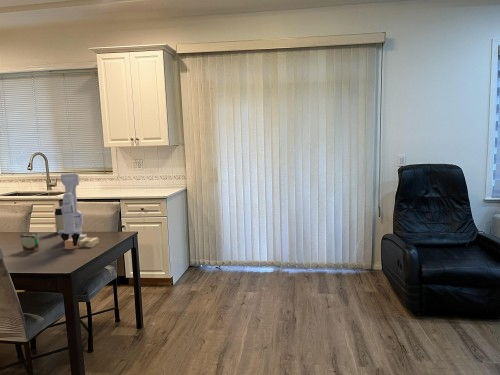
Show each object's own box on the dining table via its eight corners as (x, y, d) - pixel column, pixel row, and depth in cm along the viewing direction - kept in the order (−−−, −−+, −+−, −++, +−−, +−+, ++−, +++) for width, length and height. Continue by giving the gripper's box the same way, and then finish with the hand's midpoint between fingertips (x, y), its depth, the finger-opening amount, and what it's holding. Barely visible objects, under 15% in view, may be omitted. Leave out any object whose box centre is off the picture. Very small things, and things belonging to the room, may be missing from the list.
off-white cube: (76, 244, 229) (75, 236, 228) (79, 242, 234) (78, 234, 233) (84, 244, 229) (83, 236, 229) (87, 241, 234) (86, 234, 234)
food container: (45, 249, 221) (44, 233, 219) (37, 252, 215) (35, 235, 213) (30, 247, 225) (28, 231, 223) (21, 250, 219) (19, 234, 217)
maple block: (79, 247, 223) (79, 241, 222) (86, 243, 231) (86, 237, 230) (92, 247, 222) (91, 241, 222) (98, 243, 230) (98, 237, 229)
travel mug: (56, 234, 256) (54, 208, 254) (56, 231, 263) (54, 207, 261) (69, 232, 260) (66, 207, 257) (68, 230, 267) (66, 205, 264)
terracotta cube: (65, 248, 220) (64, 240, 219) (70, 246, 225) (69, 238, 224) (72, 249, 219) (71, 241, 218) (77, 246, 224) (77, 238, 223)
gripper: (53, 225, 217) (56, 247, 219) (75, 225, 215) (78, 247, 217) (61, 222, 224) (64, 243, 226) (83, 222, 222) (85, 244, 223)
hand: (71, 245), depth 222 cm, fingers closed on terracotta cube, 5 cm apart
